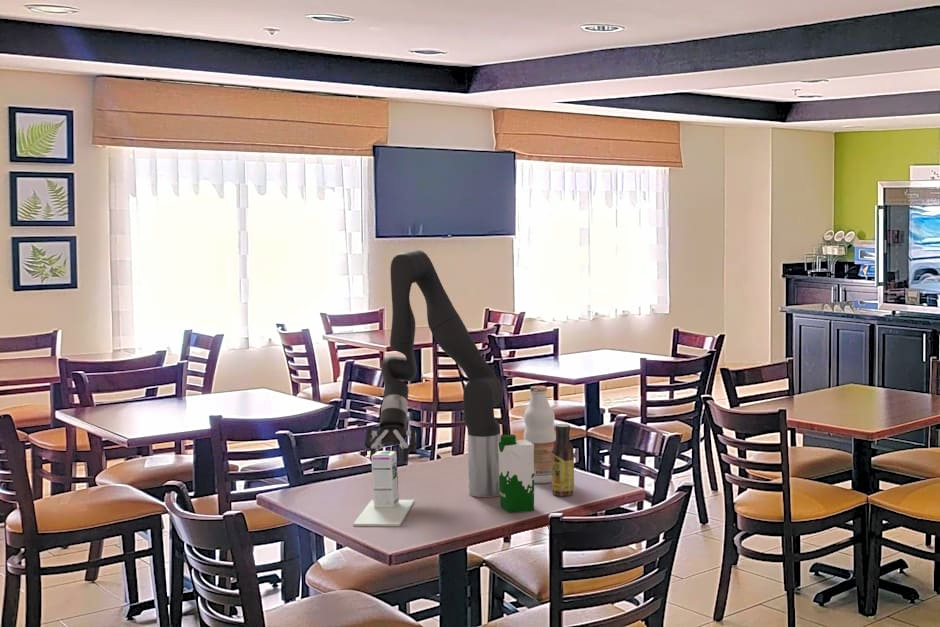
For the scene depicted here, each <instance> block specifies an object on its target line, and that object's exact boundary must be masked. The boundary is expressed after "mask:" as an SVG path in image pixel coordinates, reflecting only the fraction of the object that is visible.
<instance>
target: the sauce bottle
mask: <svg viewBox="0 0 940 627" xmlns="http://www.w3.org/2000/svg"><path fill="white" fill-rule="evenodd" d="M554 430H555V436H556V441H555V444H554V447H553V450H552V482H551V489H552V495H554V496H557V497H570V496H573V494H574V489H575V456H574V451H575V450H574V447H573V445H572V444H571V442H570V440H571V437H570V430H571V425H570V424H568V423H557V424H555V428H554Z"/></svg>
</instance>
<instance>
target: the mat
mask: <svg viewBox="0 0 940 627" xmlns="http://www.w3.org/2000/svg"><path fill="white" fill-rule="evenodd" d="M414 503H415V499H399V502H398V503H397V504H396V505H395V506H394V508H377V507H374V500H373V499H371V500H370V501H369V502H368V504H367V505H366V507H365V508H364V509H363V510H362V511H361V513H360V514H359V515H358V517H357V518H356V520H355V521H354V522H353V524H352V525H353V527H401V525H402V524H403V522H404V520H405V518H406V516H407V515H408V513H409V511H410V509H412V507H413V505H414Z"/></svg>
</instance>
